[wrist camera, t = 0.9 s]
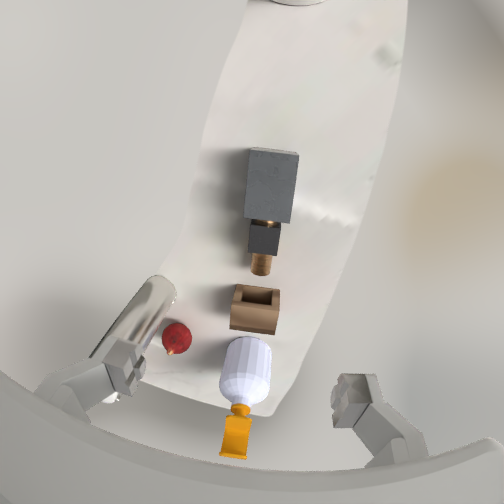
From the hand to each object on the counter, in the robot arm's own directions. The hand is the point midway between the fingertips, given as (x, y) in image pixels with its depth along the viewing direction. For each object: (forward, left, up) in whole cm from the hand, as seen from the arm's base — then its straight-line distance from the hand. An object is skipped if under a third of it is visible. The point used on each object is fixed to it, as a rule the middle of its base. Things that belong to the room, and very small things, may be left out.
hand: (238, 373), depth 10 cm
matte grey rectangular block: (-2, 0, -33) cm, 33 cm away
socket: (+19, 0, -33) cm, 38 cm away
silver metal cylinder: (+20, -18, -33) cm, 43 cm away
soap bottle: (+32, 0, -33) cm, 47 cm away
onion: (+28, -14, -33) cm, 46 cm away
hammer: (+3, 0, -33) cm, 33 cm away
